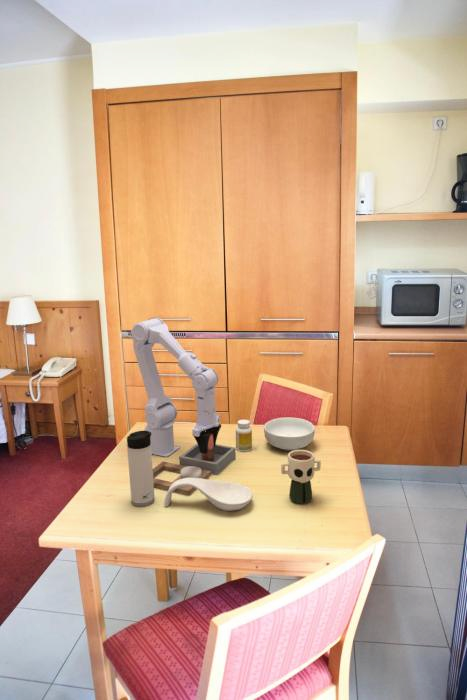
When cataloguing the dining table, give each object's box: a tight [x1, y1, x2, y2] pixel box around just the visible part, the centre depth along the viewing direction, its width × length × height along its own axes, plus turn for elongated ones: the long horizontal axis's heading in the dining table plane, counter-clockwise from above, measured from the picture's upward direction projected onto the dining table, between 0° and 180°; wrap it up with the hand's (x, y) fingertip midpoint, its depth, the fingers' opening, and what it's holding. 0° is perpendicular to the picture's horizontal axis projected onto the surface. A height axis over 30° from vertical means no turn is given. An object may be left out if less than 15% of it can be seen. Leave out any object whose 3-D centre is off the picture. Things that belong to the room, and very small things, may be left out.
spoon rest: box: [163, 478, 253, 512], centre depth 144 cm, size 24×12×7 cm, turn 86°
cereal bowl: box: [263, 417, 316, 452], centre depth 180 cm, size 17×17×7 cm
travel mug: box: [126, 430, 155, 508], centre depth 145 cm, size 6×7×20 cm
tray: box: [179, 443, 237, 476], centre depth 169 cm, size 13×13×4 cm
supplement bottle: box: [235, 419, 253, 453], centre depth 178 cm, size 5×5×10 cm
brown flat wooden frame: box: [153, 460, 212, 496], centre depth 158 cm, size 17×13×4 cm
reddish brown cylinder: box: [201, 431, 214, 462], centre depth 168 cm, size 4×4×9 cm
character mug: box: [280, 449, 322, 504], centre depth 145 cm, size 11×7×13 cm, turn 100°
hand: (207, 449), depth 168 cm, fingers open, 5 cm apart
